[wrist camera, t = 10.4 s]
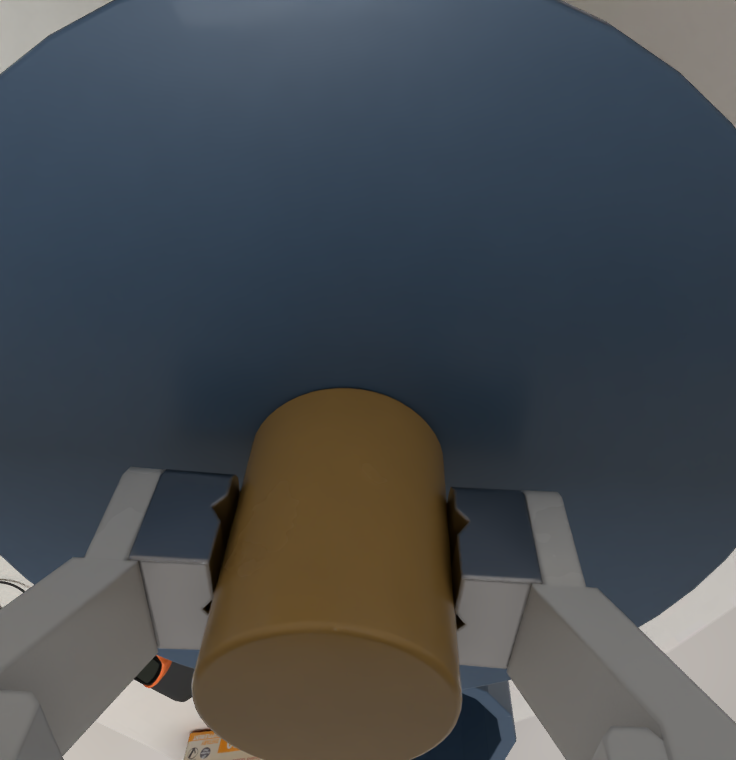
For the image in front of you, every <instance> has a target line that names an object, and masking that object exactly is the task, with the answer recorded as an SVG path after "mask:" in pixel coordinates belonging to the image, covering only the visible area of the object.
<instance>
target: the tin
mask: <svg viewBox="0 0 736 760" xmlns="http://www.w3.org/2000/svg"><path fill="white" fill-rule="evenodd" d="M515 742H516V733H515V725H514V718H513V711H512V704H511V696H510V689H509V682H508V681H504V682H499V683H494V684H489V685H484V686H479V687H474V688H469V689H464V690H462V709H461V712H460V715H459V718H458V720H457V723H456V725H455V727H454V728H453V730H452V732H451V733H450V734H449V735H448V736H447V737H446V738H445V739H444V741H442V742H441V743H440V744H438V745H437V746H436V747H435V748H433V749H431V750H430V751H428V752H426V753H425V754H423V755H420V756H418V757H416V758H414V759H411V760H505V758H506V757H507V755H508V753H509V752H510V750H511V748H512V747H513V745H514V744H515Z"/></svg>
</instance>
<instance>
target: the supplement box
mask: <svg viewBox="0 0 736 760" xmlns="http://www.w3.org/2000/svg"><path fill="white" fill-rule="evenodd" d="M184 760H263V759H260V758H258V757H255V756H252V755H250V754H248V753H246V752H244V751H241V750H239V749H237V748H236V747H234V746H232V745H230V744H229V743H227V742H226V741H224V740H223V739H221V738H220V737H219V736H217V735H216V734H215V733H214V732H213V731H206V732H205V731H204V732H195V733H191V734H190V737H189V741H188V745H187V748H186V752H185V756H184Z"/></svg>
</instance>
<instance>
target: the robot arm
mask: <svg viewBox="0 0 736 760" xmlns="http://www.w3.org/2000/svg"><path fill="white" fill-rule="evenodd" d="M239 493H240V488H239V480H238V477H237V476H236V475H233V474H221V473H208V472H196V471H184V470H172V469H166V470H162V469H151V468H139V467H130V468H129V469H128V470H127V471H126V472H125V473H124V474H123V475H122V477H121V479H120V481H119V483H118V485H117V487H116V490H115V492H114V494H113V496H112V498H111V500H110V503H109V505H108V507H107V509H106V511H105V513H104V515H103V518H102V520H101V522H100V524H99V526H98V528H97V531H96V533H95V535H94V537H93V539H92V541H91V544H90V546H89V548H88V550H87V552H86V554H85V556H84V558H83V557H72V558H71V559H70V560H68V561H67V562H66V563H64V564H63V565H61V566H60V567H59V568H57V569H56V570H54V571H53V572H52V573H50V574H49V575H47V576H46V577H45V578H43V579H42V580H41V581H39V582H38V583H36V584H35V585H34V586H32V587H31V588H29V589H28V590H27V591H25V592H24V593H23V594H21V595H20V596H18V597H17V598H16V599H14V600H13V601H11V602H10V603H9V604H7V605H6V606H5V607H3V608H2V609H0V760H64V759H63V757H62V756H63V755H64V754H65V753H66V752H67V751H68V750H69V749H70V748H71V747H72V745H73V744H74V743H75V742H76V741H77V740H78V739H79V738H80V737H81V736H82V735H83V733H84V732H85V731H86V730H87V729H88V728H89V727H90V726H91V725H92V724H93V723H94V722H95V720H96V719H97V718H98V717H99V716H100V715H101V714H102V713H103V712H104V711H105V710H106V709H107V707H108V706H109V705H110V704H111V703H112V702H113V701H114V700H115V699H116V698H117V697H118V696H119V694H120V693H121V692H122V691H123V690H124V689H125V688H126V687H127V686H128V685H129V684H130V683H131V681H132V680H133V679H134V678H135V677H136V676H137V675H138V674H139V673H140V672H141V671H142V669H143V668H144V667H145V666H146V665H147V664H148V663H149V662H150V661H151V660H152V659H153V658H154V656H155V655H156V654H157V653H158V649H190V650H199V649H200V646H201V642H202V638H203V634H204V630H205V626H206V622H207V618H208V614H209V610H210V607H211V603H212V599H213V595H214V591H215V587H216V583H217V579H218V575H219V571H220V568H221V564H222V560H223V556H224V552H225V548H226V544H227V540H228V536H229V532H230V528H231V525H232V521H233V517H234V513H235V509H236V505H237V501H238V497H239ZM447 512H448V525H449V538H450V547H451V560H452V576H453V589H454V602H455V613H456V623H457V636H458V649H459V662H460V665H467V666H478V667H490V668H502V669H507V674H508V675H509V677H510V678H511V679H512V681H513V682H514V684H515V685H516V687H517V688H518V690H519V691H520V693H521V694H522V696H523V697H524V699H525V700H526V702H527V703H528V704H529V706H530V707H531V709H532V710H533V712H534V713H535V715H536V716H537V718H538V719H539V721H540V722H541V724H542V725H543V726H544V728H545V729H546V731H547V732H548V734H549V735H550V737H551V738H552V740H553V741H554V743H555V744H556V745H557V747H558V748H559V750H560V751H561V753H562V754H563V756H564V757H565V759H566V760H736V723H735V722H734V721H733V720H732V719H731V718H730V717H729V716H728V715H727V714H726V713H725V712H724V711H723V710H722V709H721V708H720V707H719V706H717V704H716V703H715V702H714V701H713V700H711V698H710V697H709V696H707V694H706V693H704V692H703V691H702V690H701V689H700V688H699V687H698V686H697V685H696V684H695V683H694V682H693V681H692V680H691V679H690V678H689V677H688V676H687V675H686V674H685V673H684V672H683V671H682V670H681V669H680V668H679V667H678V666H677V665H676V664H675V663H674V662H673V661H672V660H671V659H670V658H669V657H668V656H667V655H666V654H665V653H664V652H662V651H661V650H660V649H659V648H658V647H657V646H656V645H655V644H654V643H653V642H652V641H651V640H650V639H649V638H648V637H647V636H646V635H645V634H644V633H643V632H642V631H641V630H640V629H639V628H638V627H637V626H636V625H635V624H634V623H633V622H632V621H631V620H630V619H629V618H628V617H627V616H626V615H625V614H624V613H623V612H622V611H621V610H619V609H618V608H617V607H616V606H615V605H614V604H613V603H612V602H611V601H610V600H609V599H608V598H607V597H606V596H605V595H604V594H603V593H602V592H601V591H600V590H599V589H598V588H593V587H586V584H585V581H584V577H583V573H582V570H581V566H580V562H579V558H578V555H577V551H576V547H575V544H574V540H573V536H572V533H571V529H570V525H569V521H568V518H567V514H566V510H565V507H564V503H563V499H562V497H561V496H560V494H559V493H558V492H551V491H529V490H522V491H519V490H506V489H485V488H465V487H451V488H450V491H449V495H448V500H447ZM157 648H158V649H157Z"/></svg>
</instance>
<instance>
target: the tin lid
mask: <svg viewBox="0 0 736 760" xmlns="http://www.w3.org/2000/svg"><path fill="white" fill-rule="evenodd" d="M130 467H139V468H151V469H162V470H166V469H172V470H184V471H196V472H208V473H221V474H233V475H236V476H237V477H238V480H239V488H240V493H239V497H238V501H237V505H236V509H235V513H234V517H233V521H232V525H231V528H230V532H229V536H228V540H227V544H226V548H225V552H224V556H223V560H222V564H221V568H220V571H219V575H218V579H217V583H216V587H215V591H214V595H213V599H212V603H211V607H210V610H209V614H208V618H207V622H206V626H205V630H204V634H203V638H202V642H201V646H200V649H199V650H190V649H158V648H157V649H158V653H157V654H156V655H158V656H160V657H163V658H165V659H168V660H170V661H173V662H175V663H178V664H181V665H184V666H188V667H191V668H194V673H193V678H192V683H191V686H192V696H193V701H194V704H195V708H196V710H197V712H198V714H199V716H200V717H201V719H202V720H203V721H204V723H205V724H206V725H207V726H208V727H209V728H210V729H211V730H212V731H213V732H214V733H215V734H216V735H217V736H219V737H220V738H221V739H223V740H224V741H226V742H227V743H229V744H230V745H232V746H234V747H236V748H237V749H239V750H241V751H244V752H246V753H248V754H250V755H252V756H255V757H258V758H260V759H263V760H411V759H414V758H416V757H418V756H420V755H423V754H425V753H426V752H428V751H430V750H431V749H433V748H435V747H436V746H437V745H438V744H440V743H441V742H442V741H444V739H445V738H446V737H447V736H448V735H449V734H450V733H451V732H452V730H453V728H454V727H455V725H456V723H457V720H458V718H459V715H460V712H461V709H462V690H464V689H469V688H474V687H479V686H484V685H489V684H494V683H499V682H504V681H508V680H511V678H510V677H509V675H508V674H507V669H502V668H490V667H478V666H467V665H460V662H459V649H458V636H457V623H456V613H455V602H454V589H453V576H452V560H451V547H450V538H449V525H448V512H447V500H448V495H449V491H450V488H451V487H465V488H485V489H506V490H519V491H522V490H529V491H551V492H558V493H559V494H560V496H561V497H562V499H563V503H564V507H565V510H566V514H567V518H568V521H569V525H570V529H571V533H572V536H573V540H574V544H575V547H576V551H577V555H578V558H579V562H580V566H581V570H582V573H583V577H584V581H585V584H586V587H593V588H598V589H599V590H600V591H601V592H602V593H603V594H604V595H605V596H606V597H607V598H608V599H609V600H610V601H611V602H612V603H613V604H614V605H615V606H616V607H617V608H618V609H619V610H621V611H622V612H623V613H624V614H625V615H626V616H627V617H628V618H629V619H630V620H631V621H632V622H633V623H634V624H635V625H636V626H637V627H640V626H641V625H643V624H645V623H647V622H648V621H650V620H652V619H653V618H655V617H657V616H658V615H660V614H661V613H662V612H664V611H665V610H666V609H668V608H669V607H671V606H672V605H673V604H675V603H676V602H677V601H679V600H680V599H681V598H683V597H684V596H685V595H687V594H688V593H689V592H691V591H692V590H693V589H695V588H696V587H697V586H698V585H699V584H700V583H701V582H702V581H703V580H704V579H705V578H706V577H707V576H709V575H710V574H711V573H712V572H713V571H714V570H715V569H716V568H717V567H718V566H719V565H720V564H722V563H723V562H724V561H725V560H726V559H727V558H728V556H729V555H730V554H731V553H732V552H733V550H734V549H735V548H736V129H735V127H734V126H733V124H732V123H731V122H730V121H729V120H728V119H727V118H726V117H725V116H724V115H723V114H722V113H721V112H720V111H719V110H718V109H716V108H715V107H714V106H713V105H712V104H711V103H710V102H709V101H708V100H707V99H706V98H705V97H704V96H703V95H702V94H701V93H700V92H699V91H698V90H697V89H696V88H695V87H694V86H693V85H692V84H691V83H690V82H689V81H688V80H687V79H686V78H685V77H684V76H683V75H682V74H681V73H679V72H678V71H677V70H675V69H674V68H672V67H671V66H670V65H668V64H667V63H665V62H664V61H662V60H661V59H659V58H658V57H657V56H655V55H654V54H652V53H651V52H649V51H648V50H646V49H645V48H644V47H642V46H641V45H639V44H638V43H636V42H635V41H633V40H632V39H631V38H629V37H628V36H626V35H625V34H623V33H622V32H620V31H619V30H617V29H616V28H615V27H613V26H612V25H610V24H609V23H607V22H606V21H604V20H602V19H600V18H597V17H595V16H593V15H591V14H589V13H587V12H585V11H583V10H581V9H579V8H576V7H574V6H572V5H570V4H568V3H566V2H564V1H562V0H113V1H111V2H109V3H108V4H106V5H104V6H102V7H100V8H98V9H96V10H95V11H93V12H91V13H89V14H87V15H85V16H84V17H82V18H80V19H78V20H76V21H74V22H73V23H71V24H69V25H67V26H65V27H63V28H62V29H60V30H58V31H56V32H54V33H52V34H51V35H49V36H47V37H46V38H45V39H44V40H42V41H41V42H40V43H39V44H37V45H36V46H35V47H34V48H32V49H31V50H30V51H29V52H27V53H26V54H25V55H23V56H22V57H21V58H20V59H18V60H17V61H16V62H15V63H13V64H12V65H11V66H10V67H8V68H7V69H6V70H5V71H3V72H2V73H1V74H0V555H1V556H2V557H3V558H4V559H5V560H6V561H7V562H8V563H10V564H11V565H12V566H13V567H14V568H15V569H16V570H17V571H18V572H19V573H20V574H22V575H23V576H24V577H25V578H26V579H27V580H29V581H30V582H31V583H33V584H34V585H35V584H36V583H38V582H39V581H41V580H42V579H43V578H45V577H46V576H47V575H49V574H50V573H52V572H53V571H54V570H56V569H57V568H59V567H60V566H61V565H63V564H64V563H66V562H67V561H68V560H70V559H71V558H72V557H83V558H84V556H85V554H86V552H87V550H88V548H89V546H90V544H91V541H92V539H93V537H94V535H95V533H96V531H97V528H98V526H99V524H100V522H101V520H102V518H103V515H104V513H105V511H106V509H107V507H108V505H109V503H110V500H111V498H112V496H113V494H114V492H115V490H116V487H117V485H118V483H119V481H120V479H121V477H122V475H123V474H124V473H125V472H126V471H127V470H128V469H129V468H130Z"/></svg>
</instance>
